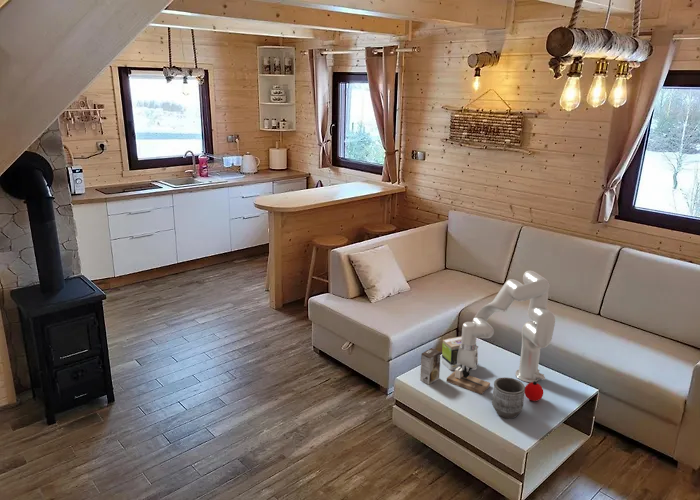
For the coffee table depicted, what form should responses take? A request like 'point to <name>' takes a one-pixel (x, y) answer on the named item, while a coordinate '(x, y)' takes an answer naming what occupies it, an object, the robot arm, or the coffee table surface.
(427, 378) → the coffee box
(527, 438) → the coffee table surface
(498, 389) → the planter
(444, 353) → the tea box
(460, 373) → the fader
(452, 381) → the fader console
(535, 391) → the ornament
